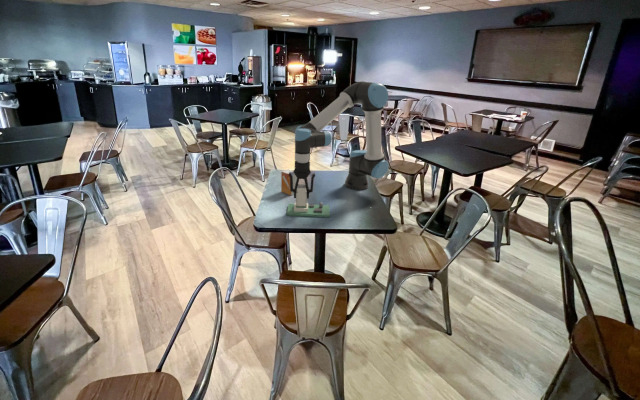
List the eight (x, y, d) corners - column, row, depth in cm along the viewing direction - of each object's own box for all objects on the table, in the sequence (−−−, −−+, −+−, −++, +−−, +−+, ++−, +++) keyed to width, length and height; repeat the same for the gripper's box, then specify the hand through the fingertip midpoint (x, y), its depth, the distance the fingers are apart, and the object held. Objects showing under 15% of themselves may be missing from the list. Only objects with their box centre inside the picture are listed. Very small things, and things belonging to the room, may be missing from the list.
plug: (305, 202, 169) (305, 184, 165) (304, 206, 166) (305, 187, 162) (297, 202, 169) (298, 184, 165) (297, 205, 166) (297, 187, 162)
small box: (281, 192, 192) (281, 171, 186) (288, 189, 196) (288, 169, 191) (291, 195, 187) (291, 174, 182) (298, 192, 192) (298, 172, 187)
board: (329, 207, 175) (329, 201, 174) (329, 217, 164) (330, 210, 163) (288, 205, 174) (288, 199, 173) (286, 215, 163) (286, 209, 162)
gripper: (319, 159, 162) (317, 201, 171) (285, 157, 161) (285, 200, 171) (319, 163, 155) (317, 207, 164) (284, 162, 154) (284, 206, 164)
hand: (301, 203), depth 167 cm, fingers closed on plug, 4 cm apart
